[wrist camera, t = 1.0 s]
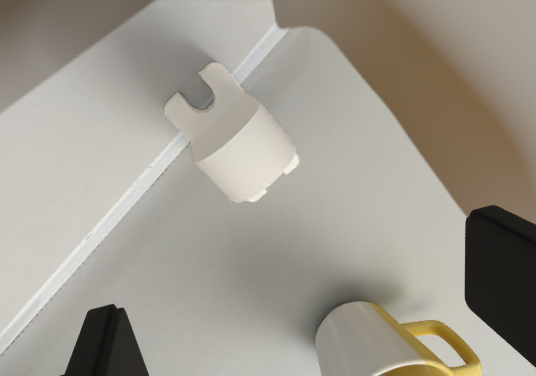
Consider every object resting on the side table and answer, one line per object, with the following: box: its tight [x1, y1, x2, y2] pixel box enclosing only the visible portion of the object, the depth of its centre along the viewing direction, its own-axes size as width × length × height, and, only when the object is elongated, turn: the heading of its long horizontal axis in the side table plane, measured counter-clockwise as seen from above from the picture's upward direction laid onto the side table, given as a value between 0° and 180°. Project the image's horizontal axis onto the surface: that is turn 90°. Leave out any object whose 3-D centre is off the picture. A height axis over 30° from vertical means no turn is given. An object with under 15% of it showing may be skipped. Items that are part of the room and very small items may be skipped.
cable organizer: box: [164, 62, 299, 203], centre depth 26 cm, size 5×10×10 cm, turn 40°
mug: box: [315, 301, 482, 376], centre depth 35 cm, size 14×10×10 cm
